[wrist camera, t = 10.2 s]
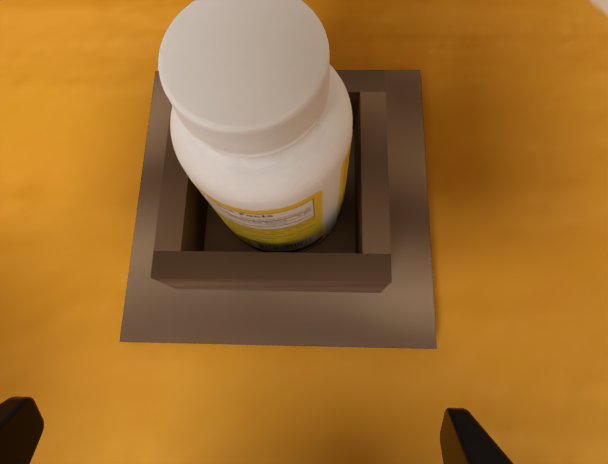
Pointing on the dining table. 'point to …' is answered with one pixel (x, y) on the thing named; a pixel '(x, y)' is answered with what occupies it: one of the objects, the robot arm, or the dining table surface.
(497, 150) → the dining table surface
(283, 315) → the socket holder
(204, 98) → the supplement bottle
